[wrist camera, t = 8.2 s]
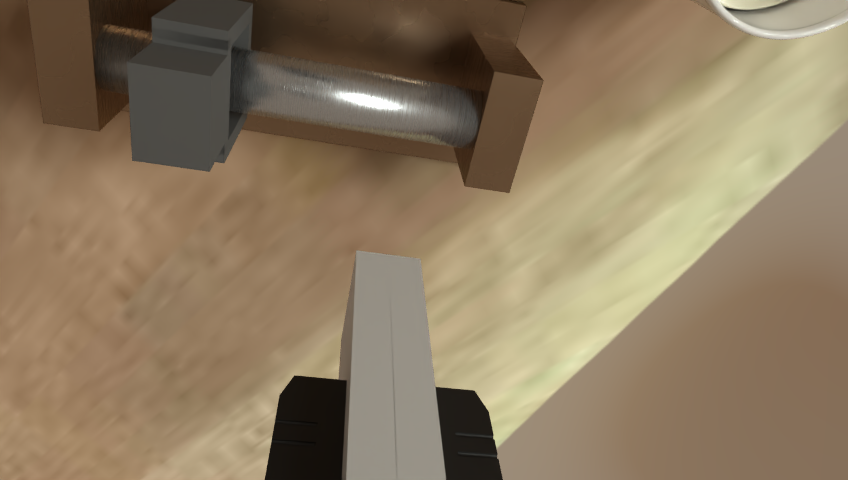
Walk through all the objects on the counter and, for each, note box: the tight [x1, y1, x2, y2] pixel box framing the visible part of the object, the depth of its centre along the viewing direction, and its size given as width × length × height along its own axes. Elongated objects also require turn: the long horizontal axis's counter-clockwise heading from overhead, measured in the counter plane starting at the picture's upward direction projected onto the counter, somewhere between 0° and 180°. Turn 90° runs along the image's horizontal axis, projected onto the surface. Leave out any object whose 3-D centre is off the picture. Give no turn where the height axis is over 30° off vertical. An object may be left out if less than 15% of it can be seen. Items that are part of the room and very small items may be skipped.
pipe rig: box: [27, 0, 544, 193], centre depth 31 cm, size 10×23×9 cm, turn 79°
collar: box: [127, 0, 253, 172], centre depth 27 cm, size 6×3×9 cm, turn 169°
